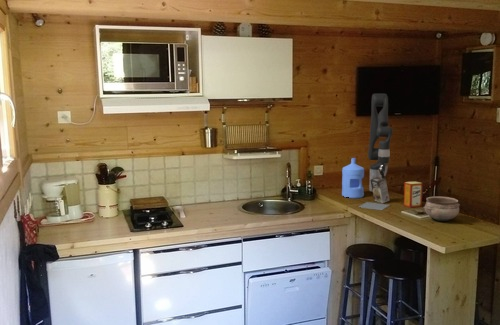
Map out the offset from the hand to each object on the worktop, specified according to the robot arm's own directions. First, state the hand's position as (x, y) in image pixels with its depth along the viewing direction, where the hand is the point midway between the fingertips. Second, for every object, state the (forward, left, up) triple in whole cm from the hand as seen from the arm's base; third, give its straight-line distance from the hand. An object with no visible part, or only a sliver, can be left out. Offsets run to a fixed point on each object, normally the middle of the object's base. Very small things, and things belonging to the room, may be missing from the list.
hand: (383, 180), depth 322 cm
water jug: (-5, -24, -15) cm, 29 cm away
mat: (+16, 0, -15) cm, 22 cm away
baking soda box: (+2, +21, -15) cm, 26 cm away
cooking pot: (+28, +45, -15) cm, 55 cm away
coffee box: (+1, 0, -14) cm, 14 cm away
